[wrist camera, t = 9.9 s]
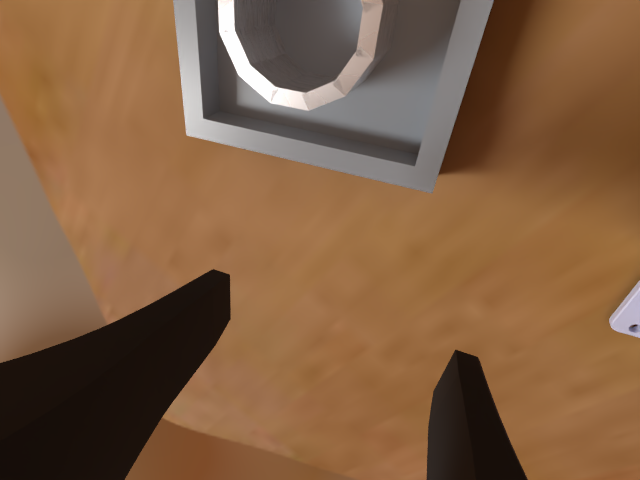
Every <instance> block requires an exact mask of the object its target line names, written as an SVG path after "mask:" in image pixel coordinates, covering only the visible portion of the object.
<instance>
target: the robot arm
mask: <svg viewBox="0 0 640 480" xmlns="http://www.w3.org/2000/svg"><path fill="white" fill-rule="evenodd" d="M230 319H231V318H230V275H229V274H226V273H223V272H220V271H217V270H214V269H213V270H211V271H209V272H207V273H205V274H203V275H202V276H200V277H198V278H196V279H195V280H193V281H191V282H189V283H188V284H186V285H184V286H182V287H181V288H179V289H177V290H175V291H173V292H172V293H170V294H168V295H166V296H164V297H163V298H161V299H159V300H157V301H155V302H153V303H151V304H150V305H148V306H146V307H144V308H142V309H140V310H138V311H136V312H134V313H132V314H130V315H128V316H126V317H124V318H122V319H120V320H117V321H115V322H113V323H111V324H109V325H106V326H104V327H102V328H100V329H97V330H95V331H92V332H90V333H87V334H85V335H83V336H80V337H78V338H75V339H72V340H70V341H67V342H64V343H61V344H58V345H55V346H52V347H50V348H47V349H44V350H41V351H38V352H35V353H32V354H29V355H26V356H23V357H20V358H17V359H13V360H10V361H6V362H3V363H0V480H125V478H126V476H127V474H128V473H129V471H130V469H131V468H132V466H133V464H134V462H135V461H136V459H137V457H138V456H139V454H140V452H141V451H142V449H143V447H144V446H145V444H146V442H147V441H148V439H149V437H150V436H151V434H152V433H153V431H154V429H155V428H156V426H157V425H158V423H159V421H160V420H161V418H162V417H163V415H164V414H165V412H166V411H167V409H168V408H169V406H170V405H171V404H172V402H173V401H174V400H175V398H176V397H177V396H178V394H179V393H180V392H181V390H182V389H183V388H184V386H185V385H186V384H187V382H188V381H189V380H190V378H191V377H192V376H193V374H194V373H195V372H196V370H197V369H198V368H199V367H200V365H201V364H202V363H203V361H204V360H205V358H206V357H207V356H208V354H209V353H210V352H211V350H212V349H213V348H214V346H215V345H216V343H217V341H218V340H219V338H220V336H221V335H222V333H223V331H224V329H225V328H226V326H227V324H228V322H229V320H230ZM609 323H610V325H611V327H612V328H613V330H615V331H617V332H621V333H624V334H628V335H632V336H635V337H639V338H640V281H639V282H638V283H637V284H636V286H635V287H634V288H633V289H632V291H631V292H630V293H629V294H628V296H627V297H626V298H625V299H624V301H623V302H622V303H621V304H620V306H619V307H618V308H617V309H616V311H615V312H614V313H613V314H612V316H611V317H610V319H609ZM635 324H637V326H634V327H630V326H631V325H635ZM427 480H528V479H527V477H526V475H525V473H524V471H523V469H522V467H521V464H520V462H519V460H518V458H517V456H516V454H515V451H514V449H513V447H512V445H511V442H510V440H509V438H508V435H507V433H506V430H505V428H504V426H503V423H502V421H501V419H500V416H499V413H498V411H497V408H496V406H495V403H494V400H493V398H492V395H491V392H490V390H489V387H488V384H487V381H486V378H485V375H484V373H483V370H482V367H481V364H480V361H479V359H478V357H476V356H473V355H470V354H467V353H464V352H461V351H458V350H455V352H454V354H453V356H452V357H451V359H450V361H449V363H448V365H447V367H446V369H445V371H444V372H443V374H442V376H441V378H440V380H439V382H438V384H437V386H436V388H435V389H434V392H433V398H432V405H431V412H430V419H429V427H428V454H427Z"/></svg>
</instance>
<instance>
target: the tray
mask: <svg viewBox="0 0 640 480" xmlns="http://www.w3.org/2000/svg"><path fill="white" fill-rule="evenodd" d="M493 1H494V0H398V2H399V6H398V11H397V16H396V21H395V26H394V31H393V36H392V41H391V47H390V49H389V50H388V52H387V53H386V54H385V55H384V57H383V58H382V59H381V61H380V62H379V63H378V64H377V66H376V67H375V68H374V70H373V71H372V72H371V74H370V75H369V76H368V77H367V79H366V80H365V81H363V82H362V83H361V84H360V85H358V86H357V87H356V88H355V89H354V90H352V91H351V92H350V93H349V94H348V95H346V96H345V97H342V98H340V99H337V100H335V101H332V102H330V103H327V104H325V105H322V106H319V107H317V108H314V109H312V110H309V111H307V110H302V109H297V108H292V107H287V106H283V105H278V104H273V103H270V102H269V101H268V100H267V99H265V98H264V97H263V96H262V95H261V94H260V93H259V92H257V91H256V90H255V89H254V88H253V87H252V86H251V85H249V84H248V83H247V82H246V81H245V80H244V79H242V78H241V77H240V76H239V74H238V72H237V70H236V68H235V66H234V63H233V61H232V59H231V57H230V55H229V53H228V50H227V48H226V46H225V44H224V42H223V39H222V37H221V35H220V33H219V12H218V0H173V2H174V12H175V23H176V33H177V43H178V53H179V63H180V74H181V84H182V94H183V104H184V114H185V125H186V135H188V136H192V137H196V138H200V139H204V140H209V141H213V142H217V143H221V144H226V145H230V146H234V147H238V148H242V149H247V150H251V151H255V152H259V153H264V154H268V155H272V156H276V157H281V158H285V159H289V160H293V161H297V162H302V163H306V164H310V165H314V166H319V167H323V168H327V169H331V170H335V171H340V172H344V173H348V174H352V175H357V176H361V177H365V178H369V179H373V180H378V181H382V182H386V183H390V184H395V185H399V186H403V187H407V188H411V189H416V190H420V191H424V192H428V193H433V189H434V186H435V183H436V180H437V177H438V174H439V171H440V167H441V164H442V161H443V158H444V155H445V152H446V149H447V145H448V142H449V139H450V136H451V133H452V130H453V127H454V124H455V120H456V117H457V114H458V111H459V108H460V105H461V102H462V98H463V95H464V92H465V89H466V86H467V83H468V80H469V77H470V73H471V70H472V67H473V64H474V61H475V58H476V55H477V51H478V48H479V45H480V42H481V39H482V36H483V33H484V29H485V26H486V23H487V20H488V17H489V14H490V11H491V8H492V4H493ZM362 11H363V7H362V3H361V0H276V12H275V26H276V28H277V31H278V33H279V36H280V38H281V41H282V43H283V46H284V48H285V51H286V53H287V54H288V55H289V56H290V57H291V58H292V59H293V60H294V61H295V62H297V63H298V64H299V65H300V66H301V67H302V68H303V69H304V70H306V71H307V72H309V73H315V74H320V75H326V76H331V77H334V76H336V75H338V74H340V73H341V72H342V70H343V69H344V67H345V66H346V65H347V63H348V62H349V60H350V59H351V58H352V56H353V55H354V53H355V52H356V51H357V44H358V38H359V31H360V24H361V18H362Z"/></svg>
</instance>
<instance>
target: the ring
mask: <svg viewBox="0 0 640 480" xmlns="http://www.w3.org/2000/svg"><path fill="white" fill-rule="evenodd" d="M361 3H362V7H363V11H362V18H361V24H360V31H359V38H358V44H357V51H356V52H355V53H354V55H353V56H352V58H351V59H350V60H349V62H348V63H347V65H346V66H345V67H344V69H343V70H342V72H341V73H340V74H338V75H336V76H334V77H331V76H326V75H320V74H315V73H309V72H307V71H306V70H304V69H303V68H302V67H301V66H300V65H299V64H298V63H297V62H295V61H294V60H293V59H292V58H291V57H290V56H289V55H288V54H287V53H286V51H285V48H284V46H283V43H282V41H281V38H280V36H279V33H278V31H277V28H276V26H275V12H276V0H218V12H219V33H220V35H221V37H222V39H223V42H224V44H225V46H226V48H227V50H228V53H229V55H230V57H231V59H232V61H233V63H234V66H235V68H236V70H237V72H238V74H239V76H240V77H241V78H242V79H244V80H245V81H246V82H247V83H248V84H249V85H251V86H252V87H253V88H254V89H255V90H256V91H257V92H259V93H260V94H261V95H262V96H263V97H264V98H265V99H267V100H268V101H269V102H270V103H273V104H278V105H283V106H287V107H292V108H297V109H302V110H307V111H309V110H312V109H314V108H317V107H319V106H322V105H325V104H327V103H330V102H332V101H335V100H337V99H340V98H342V97H345V96H346V95H348V94H349V93H350V92H351V91H352V90H354V89H355V88H356V87H357V86H358V85H360V84H361V83H362V82H363V81H365V80H366V79H367V77H368V76H369V75H370V74H371V72H372V71H373V70H374V68H375V67H376V66H377V64H378V63H379V62H380V61H381V59H382V58H383V57H384V55H385V54H386V53H387V52H388V50H389V49H390V47H391V41H392V36H393V31H394V26H395V21H396V16H397V11H398V6H399V2H398V0H361Z"/></svg>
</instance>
